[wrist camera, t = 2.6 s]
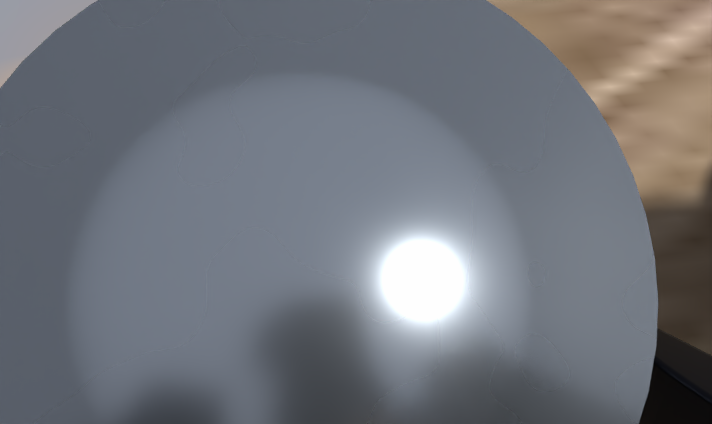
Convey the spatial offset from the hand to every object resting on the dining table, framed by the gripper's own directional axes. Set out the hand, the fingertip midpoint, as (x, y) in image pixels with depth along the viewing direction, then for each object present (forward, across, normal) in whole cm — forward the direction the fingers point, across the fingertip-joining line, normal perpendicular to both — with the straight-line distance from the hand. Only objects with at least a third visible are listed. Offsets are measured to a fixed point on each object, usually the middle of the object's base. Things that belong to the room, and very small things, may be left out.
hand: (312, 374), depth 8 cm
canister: (+7, 0, +5) cm, 9 cm away
